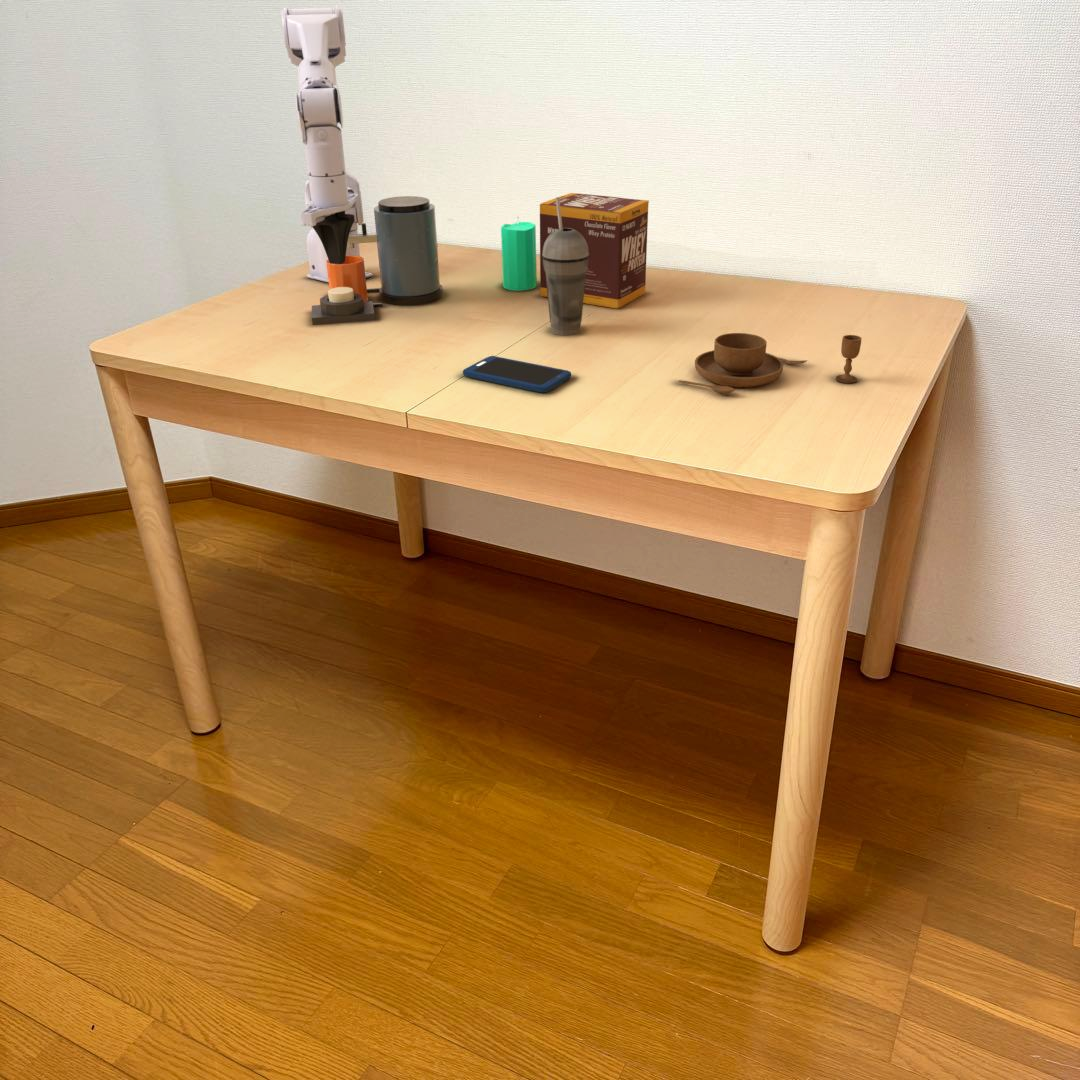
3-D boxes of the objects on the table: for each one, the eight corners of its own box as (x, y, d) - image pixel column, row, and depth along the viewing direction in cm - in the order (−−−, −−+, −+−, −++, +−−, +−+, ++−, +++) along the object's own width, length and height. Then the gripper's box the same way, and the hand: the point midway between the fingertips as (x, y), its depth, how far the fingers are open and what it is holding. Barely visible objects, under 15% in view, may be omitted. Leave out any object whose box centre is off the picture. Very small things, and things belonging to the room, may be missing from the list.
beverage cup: (585, 339, 154) (585, 203, 144) (538, 337, 156) (535, 202, 146) (592, 324, 160) (593, 193, 151) (547, 322, 162) (545, 191, 152)
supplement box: (619, 309, 167) (621, 211, 159) (539, 296, 174) (537, 202, 167) (647, 293, 175) (650, 199, 167) (569, 281, 182) (569, 191, 174)
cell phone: (490, 359, 147) (490, 354, 146) (573, 376, 140) (573, 371, 140) (460, 375, 141) (460, 370, 141) (545, 393, 135) (545, 388, 134)
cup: (323, 302, 173) (318, 261, 170) (349, 293, 178) (344, 253, 174) (349, 308, 170) (345, 266, 167) (375, 299, 175) (371, 258, 171)
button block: (312, 325, 163) (310, 306, 161) (312, 312, 169) (310, 294, 167) (375, 320, 164) (373, 302, 163) (373, 308, 170) (371, 290, 169)
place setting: (733, 348, 149) (736, 309, 146) (862, 378, 138) (868, 336, 135) (667, 383, 138) (669, 341, 135) (802, 418, 127) (808, 373, 124)
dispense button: (329, 305, 163) (328, 294, 162) (329, 298, 167) (327, 287, 166) (354, 303, 164) (353, 292, 163) (353, 296, 167) (352, 286, 166)
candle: (538, 281, 183) (537, 212, 177) (534, 290, 177) (533, 220, 171) (505, 281, 183) (502, 212, 177) (500, 290, 178) (498, 220, 172)
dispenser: (330, 311, 169) (318, 212, 161) (330, 293, 178) (318, 199, 170) (446, 303, 172) (439, 205, 164) (439, 286, 181) (433, 193, 173)
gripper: (328, 164, 163) (338, 250, 169) (278, 180, 151) (290, 272, 157) (367, 166, 160) (375, 253, 167) (319, 183, 149) (330, 275, 155)
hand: (337, 262), depth 162 cm, fingers closed
